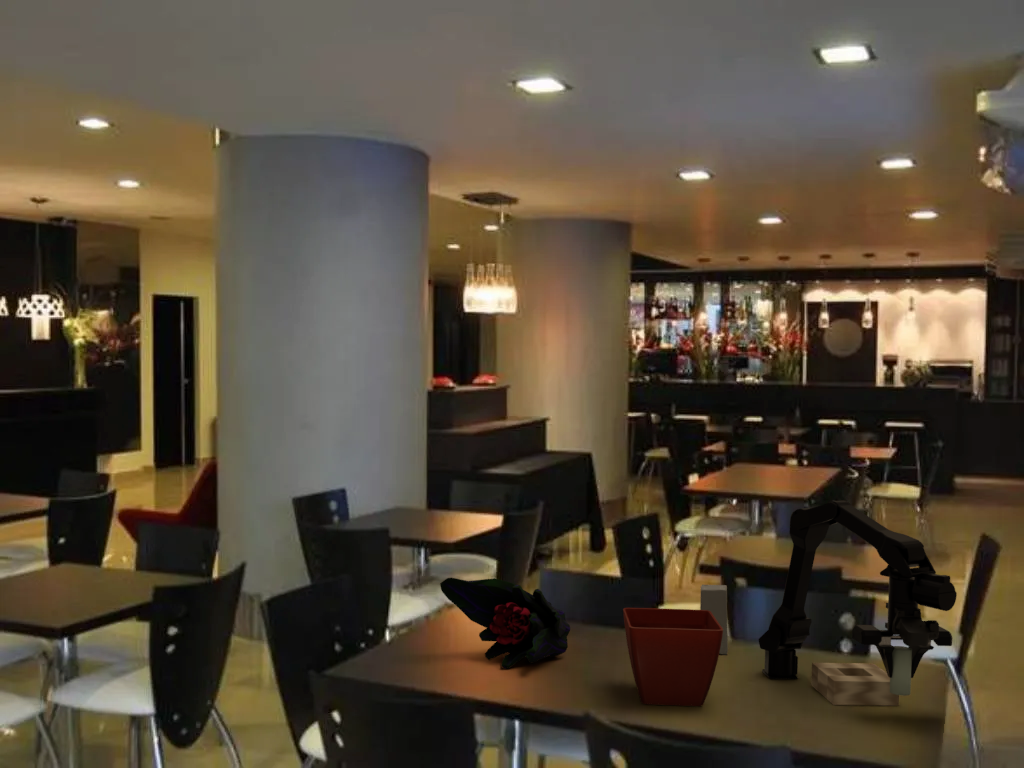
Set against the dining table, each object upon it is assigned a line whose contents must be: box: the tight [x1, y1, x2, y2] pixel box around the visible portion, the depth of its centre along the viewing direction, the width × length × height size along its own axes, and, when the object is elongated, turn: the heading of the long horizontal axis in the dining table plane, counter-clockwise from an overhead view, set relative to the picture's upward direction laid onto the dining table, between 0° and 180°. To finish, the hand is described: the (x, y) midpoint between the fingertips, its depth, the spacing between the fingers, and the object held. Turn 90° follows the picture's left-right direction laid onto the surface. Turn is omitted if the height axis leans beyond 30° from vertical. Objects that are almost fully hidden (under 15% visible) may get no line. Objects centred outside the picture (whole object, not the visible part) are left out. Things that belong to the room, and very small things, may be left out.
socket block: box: [810, 662, 900, 707], centre depth 237 cm, size 14×14×5 cm
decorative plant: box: [439, 577, 571, 670], centre depth 254 cm, size 21×26×30 cm
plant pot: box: [622, 607, 723, 707], centre depth 231 cm, size 19×19×17 cm
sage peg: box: [890, 645, 912, 697], centre depth 223 cm, size 4×4×9 cm
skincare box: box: [699, 584, 729, 655], centre depth 271 cm, size 8×7×16 cm
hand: (900, 677), depth 223 cm, fingers closed on sage peg, 4 cm apart
